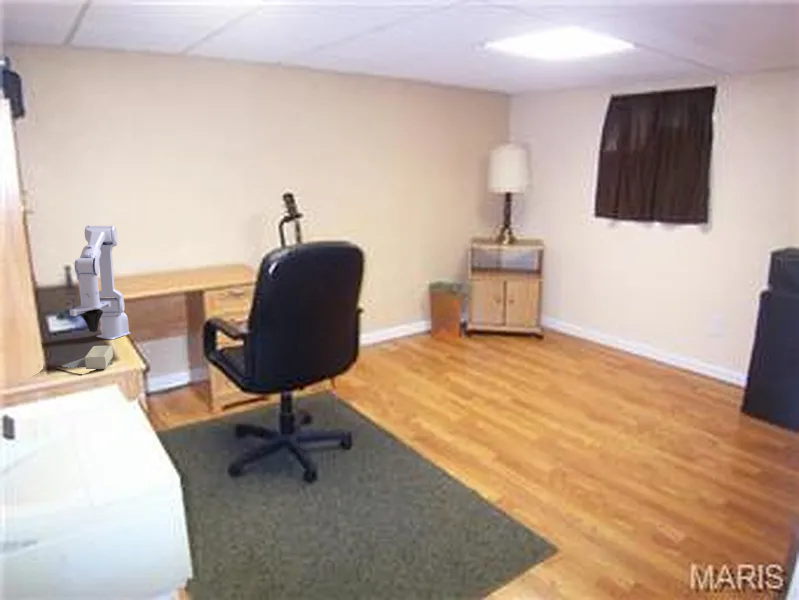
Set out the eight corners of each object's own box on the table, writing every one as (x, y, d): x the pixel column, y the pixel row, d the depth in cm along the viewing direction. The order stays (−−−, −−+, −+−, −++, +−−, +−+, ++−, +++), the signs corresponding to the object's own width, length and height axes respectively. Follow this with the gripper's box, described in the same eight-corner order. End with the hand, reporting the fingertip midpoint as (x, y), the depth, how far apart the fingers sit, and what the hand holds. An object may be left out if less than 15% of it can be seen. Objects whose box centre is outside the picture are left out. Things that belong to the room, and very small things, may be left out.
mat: (87, 358, 200) (87, 356, 200) (113, 363, 195) (112, 362, 195) (56, 369, 189) (55, 367, 189) (82, 375, 185) (82, 373, 184)
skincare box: (94, 357, 199) (84, 370, 188) (93, 345, 198) (83, 357, 186) (114, 356, 201) (105, 369, 189) (112, 344, 199) (104, 356, 188)
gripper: (79, 298, 185) (83, 338, 188) (116, 290, 198) (119, 327, 201) (63, 296, 187) (67, 335, 191) (101, 287, 201) (104, 324, 204)
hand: (93, 331), depth 196 cm, fingers closed
